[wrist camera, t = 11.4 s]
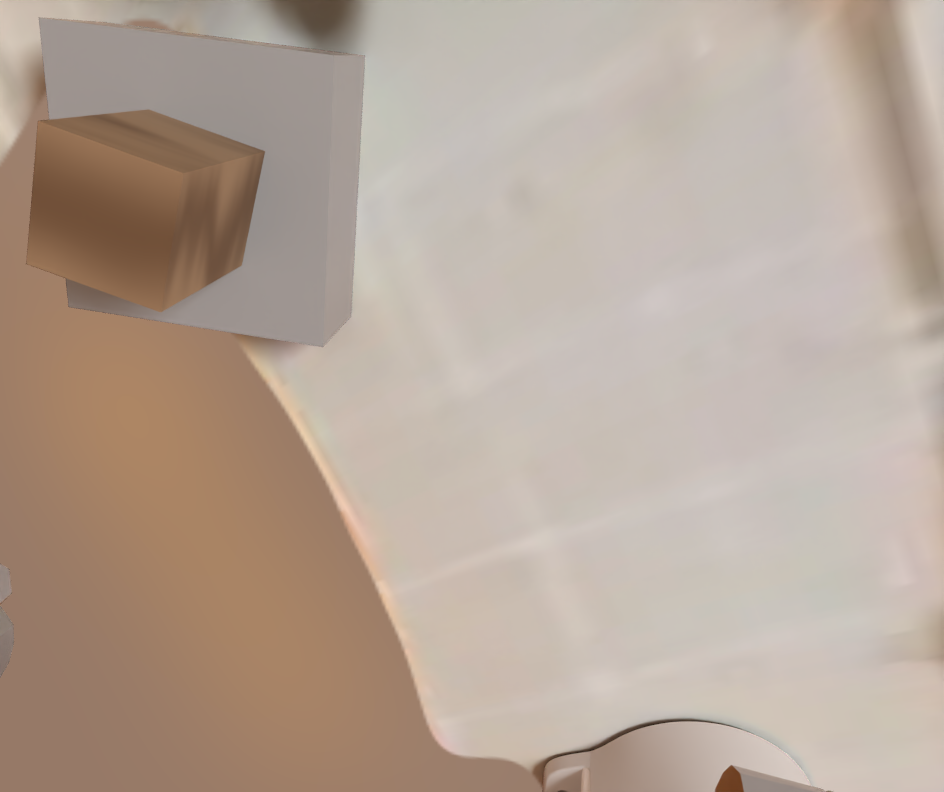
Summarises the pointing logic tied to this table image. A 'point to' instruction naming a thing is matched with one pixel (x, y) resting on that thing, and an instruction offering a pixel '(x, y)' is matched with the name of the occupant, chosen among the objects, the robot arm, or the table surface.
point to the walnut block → (140, 204)
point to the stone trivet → (252, 123)
